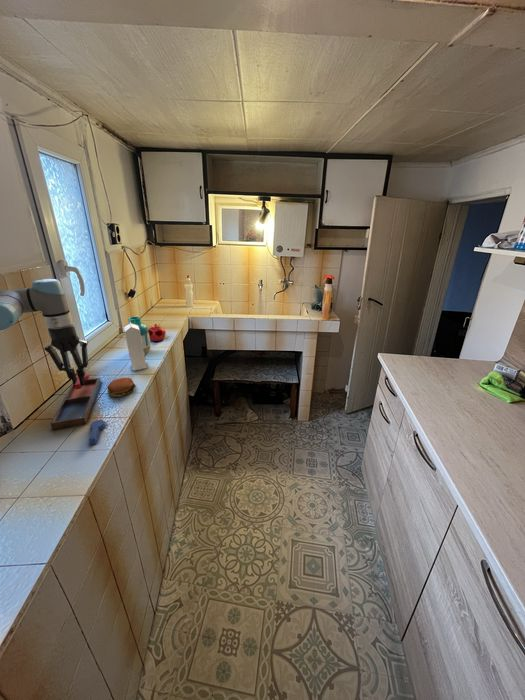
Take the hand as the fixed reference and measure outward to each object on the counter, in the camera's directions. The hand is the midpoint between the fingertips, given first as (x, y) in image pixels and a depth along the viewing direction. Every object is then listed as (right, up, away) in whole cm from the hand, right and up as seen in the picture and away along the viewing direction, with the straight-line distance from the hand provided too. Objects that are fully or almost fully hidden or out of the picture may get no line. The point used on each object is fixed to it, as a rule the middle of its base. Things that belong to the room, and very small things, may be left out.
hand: (79, 384), depth 106 cm
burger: (+13, -4, +6) cm, 15 cm away
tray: (+1, -7, -2) cm, 7 cm away
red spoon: (-1, +1, +2) cm, 2 cm away
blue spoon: (+16, -14, -16) cm, 27 cm away
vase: (+7, +11, +37) cm, 40 cm away
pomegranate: (+9, +19, +55) cm, 59 cm away
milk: (+12, +5, +25) cm, 28 cm away
